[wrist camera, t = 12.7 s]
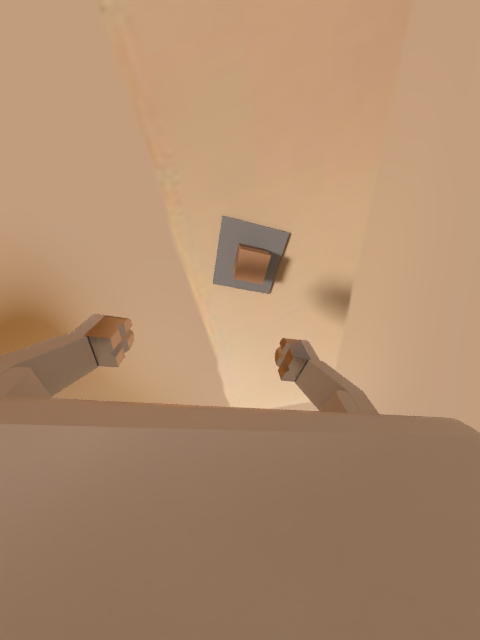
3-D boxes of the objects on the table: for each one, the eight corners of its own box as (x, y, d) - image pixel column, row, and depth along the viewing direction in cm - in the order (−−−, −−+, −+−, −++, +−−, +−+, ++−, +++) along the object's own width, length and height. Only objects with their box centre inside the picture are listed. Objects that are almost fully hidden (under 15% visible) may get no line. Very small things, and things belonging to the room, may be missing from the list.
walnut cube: (238, 242, 31) (240, 248, 27) (265, 249, 32) (271, 255, 28) (233, 270, 33) (234, 279, 29) (257, 274, 34) (262, 284, 30)
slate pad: (222, 215, 29) (222, 215, 28) (288, 232, 31) (289, 232, 30) (212, 282, 35) (212, 283, 35) (268, 292, 37) (268, 293, 37)
